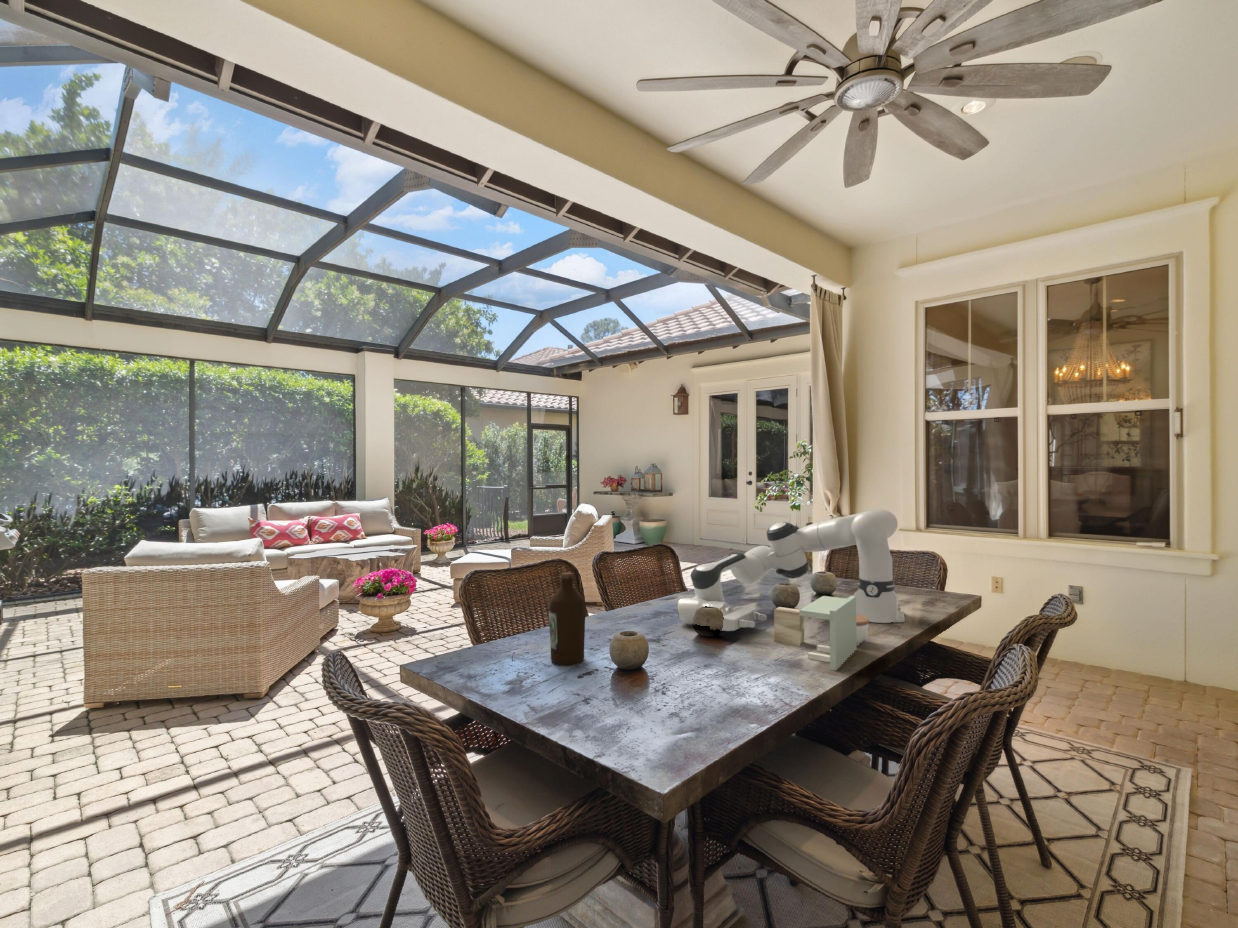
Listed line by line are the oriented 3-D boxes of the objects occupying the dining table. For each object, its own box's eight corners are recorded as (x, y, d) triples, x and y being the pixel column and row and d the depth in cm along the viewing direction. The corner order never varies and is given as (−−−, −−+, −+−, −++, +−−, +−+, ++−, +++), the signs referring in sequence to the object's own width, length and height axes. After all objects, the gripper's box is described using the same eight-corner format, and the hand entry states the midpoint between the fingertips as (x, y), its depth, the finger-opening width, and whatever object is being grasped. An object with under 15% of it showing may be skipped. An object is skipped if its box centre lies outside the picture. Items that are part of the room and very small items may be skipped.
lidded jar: (874, 647, 180) (874, 616, 180) (839, 647, 180) (838, 616, 180) (861, 637, 191) (860, 608, 191) (827, 637, 191) (827, 608, 191)
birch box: (779, 638, 191) (779, 606, 191) (804, 642, 186) (803, 610, 186) (774, 641, 187) (774, 609, 187) (799, 645, 183) (799, 613, 183)
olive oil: (581, 653, 177) (580, 569, 177) (590, 664, 167) (589, 575, 167) (545, 656, 174) (545, 571, 174) (552, 668, 163) (552, 577, 164)
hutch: (823, 644, 183) (823, 592, 184) (856, 649, 178) (856, 596, 178) (799, 663, 166) (799, 606, 166) (835, 670, 160) (835, 611, 160)
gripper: (733, 617, 208) (772, 623, 200) (707, 631, 192) (747, 638, 184) (733, 599, 208) (771, 604, 200) (707, 611, 192) (747, 617, 184)
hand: (760, 621), depth 192 cm, fingers open, 8 cm apart
